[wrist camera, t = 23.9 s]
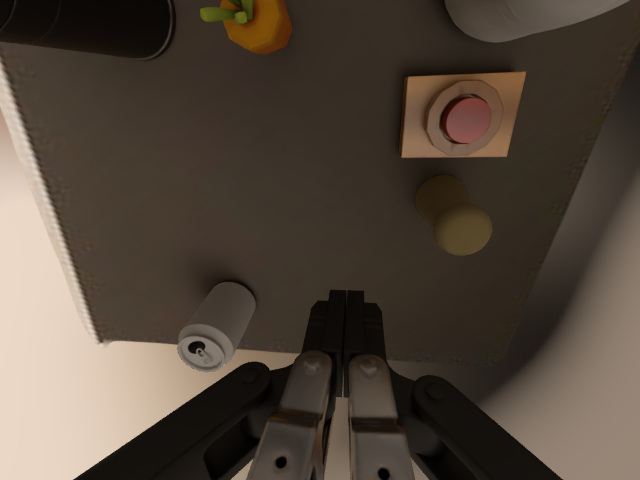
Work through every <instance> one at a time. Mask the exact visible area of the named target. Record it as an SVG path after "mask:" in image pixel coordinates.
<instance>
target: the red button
mask: <svg viewBox="0 0 640 480" xmlns="http://www.w3.org/2000/svg"><path fill="white" fill-rule="evenodd" d="M490 122H491V110H490V108H489V106H488V104H487V103H486V102H485V101H483V100H481V99H479V98H472V97H464V98H460V99H458V100H456V101H454V102H453V103H451V104H450V105H449V106H448V108H447V109H446V111H445V112H444V115H443V118H442V128H443V131H444V133H445V134H446V135H447V136H448V137H449V138H451V139H453V140H454V141H456V142H459V143H470V142H473V141H475V140H477V139H479V138H480V137H481V136H482V135H483V134H484V133H485V132H486V131H487V129H488V127H489V125H490Z"/></svg>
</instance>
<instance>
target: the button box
mask: <svg viewBox="0 0 640 480" xmlns="http://www.w3.org/2000/svg"><path fill="white" fill-rule="evenodd" d="M525 76H526V72H502V73H478V74H455V75H431V76H408V77H405V78H404V90H403V102H402V115H401V128H400V141H399V155H400V156H401V158H451V157H507V153H508V149H509V145H510V140H511V136H512V132H513V127H514V123H515V119H516V114H517V110H518V106H519V101H520V97H521V93H522V88H523V84H524V80H525ZM464 97H472V98H479V99H481V100H483V101H485V102H486V103H487V104H488V106H489V108H490V110H491V122H490V125H489V127H488V129H487V131H486V132H485V133H484V134H483V135H482V136H481V137H480V138H479V139H477V140H475V141H473V142H470V143H459V142H456V141H454V140H453V139H451V138H449V137H448V136H447V135H446V134H445V133H444V131H443V128H442V118H443V115H444V112H445V111H446V109H447V108H448V106H449V105H450V104H451V103H453V102H454V101H456V100H458V99H460V98H464Z"/></svg>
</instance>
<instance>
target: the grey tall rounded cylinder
mask: <svg viewBox="0 0 640 480" xmlns="http://www.w3.org/2000/svg"><path fill="white" fill-rule="evenodd" d="M444 1H445V6H446V9H447V11H448V13H449V15H450V17H451V18H452V20H453V22H454V24H455V25H456V26H458V27H459V28H460V29H461V30H462V31H463V32H464V33H465V34H467V35H469V36H471V37H473V38H476V39H478V40H482V41H486V42H504V41H510V40H514V39H517V38H521V37H524V36H527V35H530V34H534V33H538V32H543V31H548V30H552V29H556V28H560V27H563V26H567V25H571V24H574V23H577V22H580V21H583V20H586V19H589V18H592V17H595V16H597V15H600V14H602V13H605V12H607V11H609V10H611V9H614V8H616V7H618V6H620V5H622V4H624V3H626V2H628V1H630V0H444Z"/></svg>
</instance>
